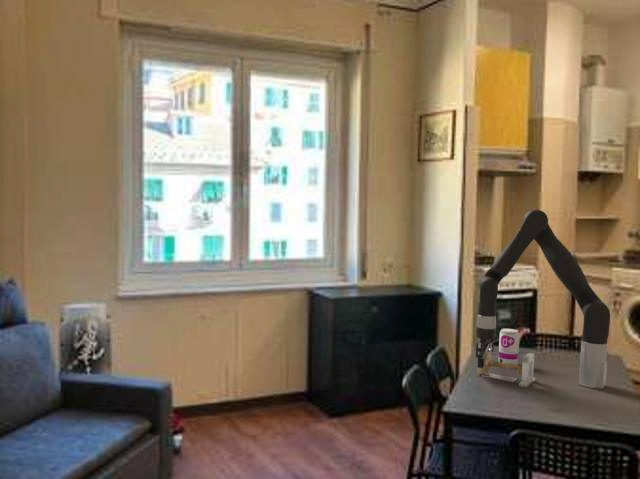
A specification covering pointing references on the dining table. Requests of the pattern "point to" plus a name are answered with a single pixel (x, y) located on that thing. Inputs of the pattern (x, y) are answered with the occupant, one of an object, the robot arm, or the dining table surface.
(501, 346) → the supplement can
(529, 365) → the white stand
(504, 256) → the robot arm
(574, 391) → the dining table surface
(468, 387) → the dining table surface
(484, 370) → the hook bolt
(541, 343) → the dining table surface
